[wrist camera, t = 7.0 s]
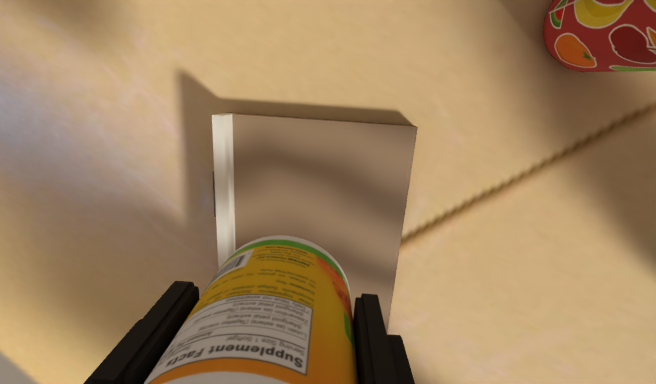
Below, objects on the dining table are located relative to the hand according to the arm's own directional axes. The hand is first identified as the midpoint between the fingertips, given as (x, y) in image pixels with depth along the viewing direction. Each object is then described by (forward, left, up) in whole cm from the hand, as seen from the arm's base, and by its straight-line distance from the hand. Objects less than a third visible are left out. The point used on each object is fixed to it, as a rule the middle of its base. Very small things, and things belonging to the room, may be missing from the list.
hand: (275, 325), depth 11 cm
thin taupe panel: (-6, -1, -16) cm, 17 cm away
